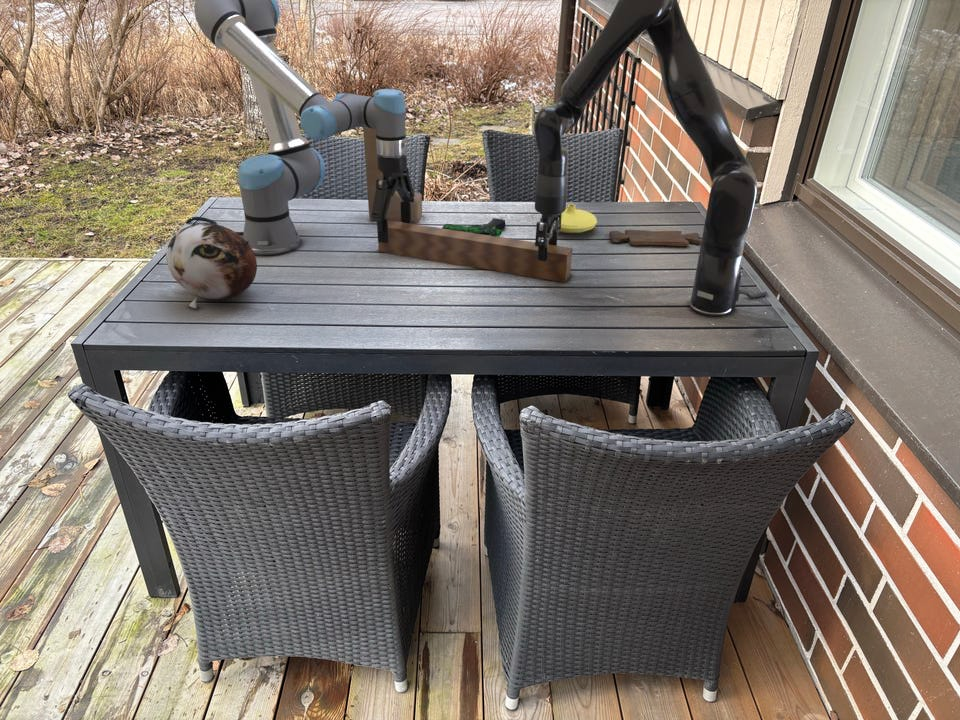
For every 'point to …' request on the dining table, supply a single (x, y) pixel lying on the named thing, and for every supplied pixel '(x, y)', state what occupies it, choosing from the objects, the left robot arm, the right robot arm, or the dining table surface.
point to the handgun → (481, 228)
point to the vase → (576, 220)
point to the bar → (477, 251)
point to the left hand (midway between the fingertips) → (395, 233)
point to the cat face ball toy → (211, 261)
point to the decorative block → (375, 174)
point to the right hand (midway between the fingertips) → (547, 254)
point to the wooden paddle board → (654, 237)
